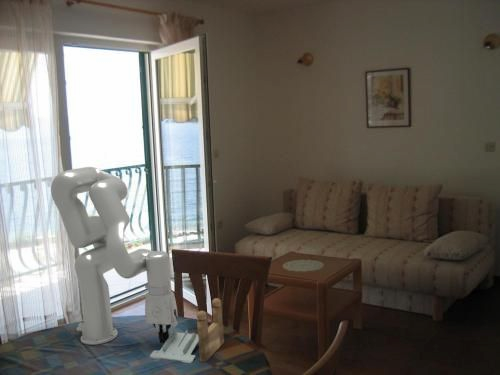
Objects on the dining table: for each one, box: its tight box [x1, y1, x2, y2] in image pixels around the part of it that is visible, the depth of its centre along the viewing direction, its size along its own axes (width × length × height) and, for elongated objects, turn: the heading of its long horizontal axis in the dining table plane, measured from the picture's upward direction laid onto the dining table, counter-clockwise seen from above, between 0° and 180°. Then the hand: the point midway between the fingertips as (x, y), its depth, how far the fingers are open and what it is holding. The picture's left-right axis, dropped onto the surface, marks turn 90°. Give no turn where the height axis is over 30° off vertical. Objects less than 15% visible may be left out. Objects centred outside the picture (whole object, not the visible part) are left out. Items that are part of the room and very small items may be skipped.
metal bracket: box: [149, 329, 199, 364], centre depth 164 cm, size 14×6×15 cm
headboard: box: [196, 297, 225, 363], centre depth 162 cm, size 3×14×16 cm, turn 159°
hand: (164, 341), depth 169 cm, fingers closed
